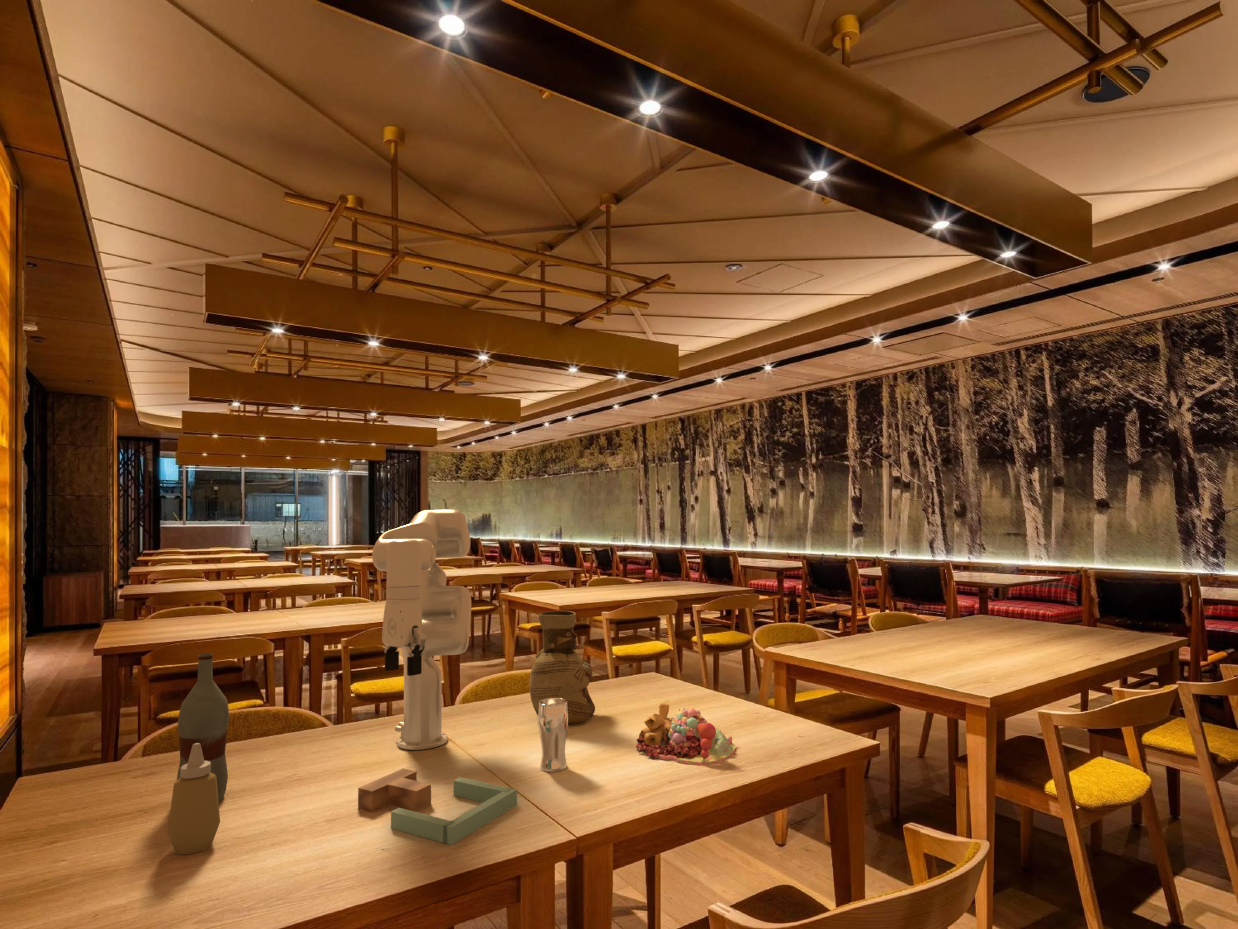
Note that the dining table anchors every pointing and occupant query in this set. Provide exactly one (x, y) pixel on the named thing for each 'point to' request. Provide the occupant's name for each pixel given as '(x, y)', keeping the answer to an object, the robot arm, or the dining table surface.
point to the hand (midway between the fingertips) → (402, 672)
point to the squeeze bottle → (194, 806)
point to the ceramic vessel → (561, 668)
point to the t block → (395, 792)
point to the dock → (453, 831)
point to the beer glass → (553, 733)
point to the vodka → (205, 723)
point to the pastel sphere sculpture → (684, 738)
